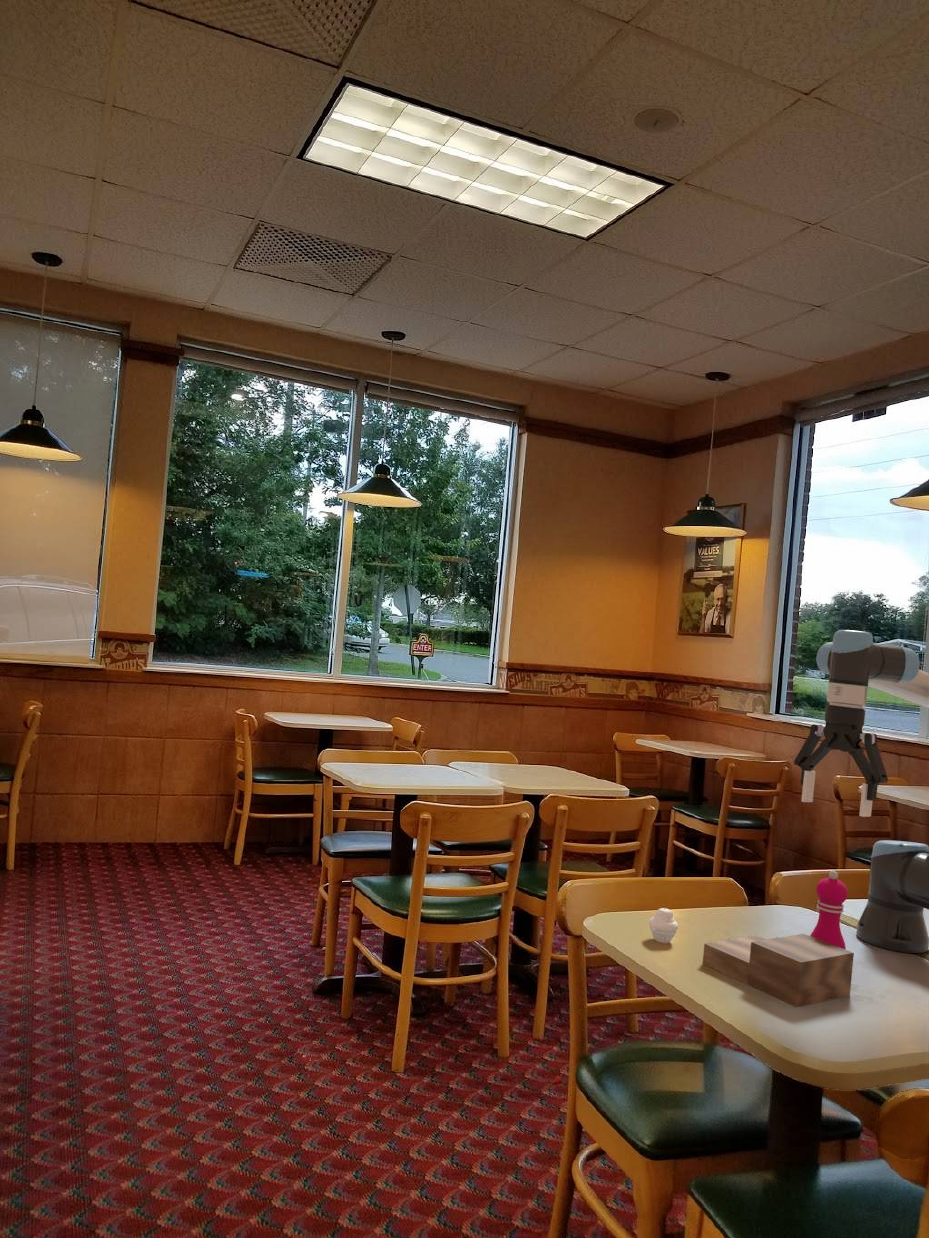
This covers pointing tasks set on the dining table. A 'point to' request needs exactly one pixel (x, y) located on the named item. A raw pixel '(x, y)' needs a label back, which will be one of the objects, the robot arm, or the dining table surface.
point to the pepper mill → (830, 910)
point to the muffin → (663, 925)
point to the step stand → (785, 966)
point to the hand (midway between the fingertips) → (835, 808)
